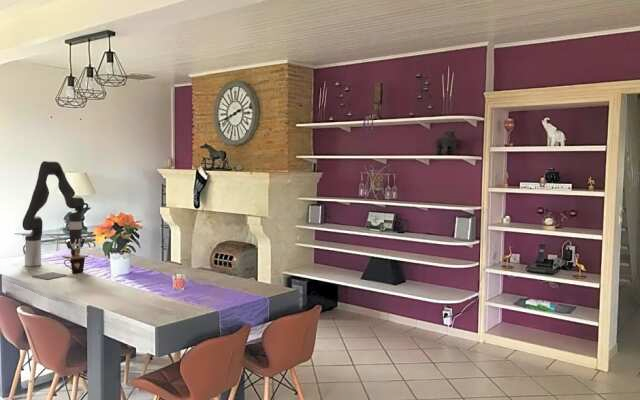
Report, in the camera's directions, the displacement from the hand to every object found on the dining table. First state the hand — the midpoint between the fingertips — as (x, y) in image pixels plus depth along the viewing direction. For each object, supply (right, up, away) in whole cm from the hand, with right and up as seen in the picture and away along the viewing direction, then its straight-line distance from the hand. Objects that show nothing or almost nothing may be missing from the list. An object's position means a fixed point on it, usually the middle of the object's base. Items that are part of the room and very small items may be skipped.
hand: (75, 254), depth 341 cm
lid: (0, -2, 0) cm, 2 cm away
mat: (-10, -12, -12) cm, 20 cm away
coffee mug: (0, -12, +1) cm, 12 cm away
